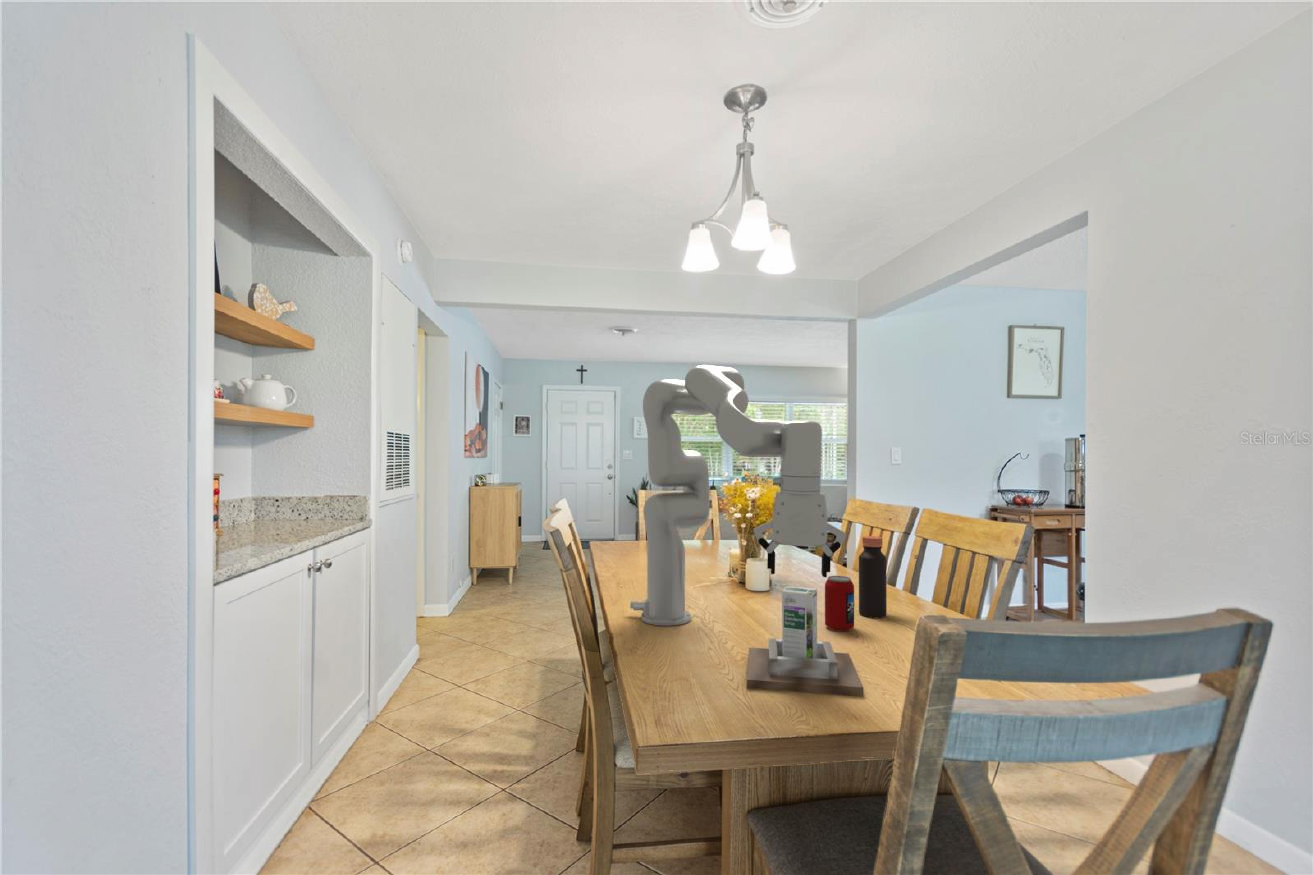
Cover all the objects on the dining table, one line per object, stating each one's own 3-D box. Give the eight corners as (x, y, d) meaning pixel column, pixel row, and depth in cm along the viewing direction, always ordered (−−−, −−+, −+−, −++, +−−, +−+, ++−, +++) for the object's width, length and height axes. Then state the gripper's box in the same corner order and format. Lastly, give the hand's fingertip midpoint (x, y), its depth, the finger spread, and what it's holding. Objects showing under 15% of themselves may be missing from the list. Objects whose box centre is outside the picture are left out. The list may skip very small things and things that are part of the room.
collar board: (746, 688, 109) (746, 662, 109) (748, 654, 126) (748, 633, 127) (863, 696, 105) (863, 670, 105) (848, 660, 123) (848, 638, 123)
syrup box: (781, 668, 115) (781, 590, 115) (788, 658, 120) (788, 584, 120) (812, 672, 112) (811, 593, 113) (817, 662, 118) (817, 587, 118)
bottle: (889, 613, 159) (888, 536, 159) (883, 619, 153) (883, 540, 153) (862, 610, 162) (862, 534, 163) (855, 615, 157) (855, 537, 157)
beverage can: (858, 632, 142) (857, 581, 142) (829, 632, 142) (828, 580, 143) (849, 624, 149) (849, 575, 149) (821, 624, 149) (821, 575, 149)
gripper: (754, 485, 115) (752, 576, 115) (849, 488, 112) (847, 581, 112) (754, 482, 122) (752, 567, 122) (844, 485, 119) (842, 572, 119)
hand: (798, 574), depth 117 cm, fingers open, 9 cm apart
